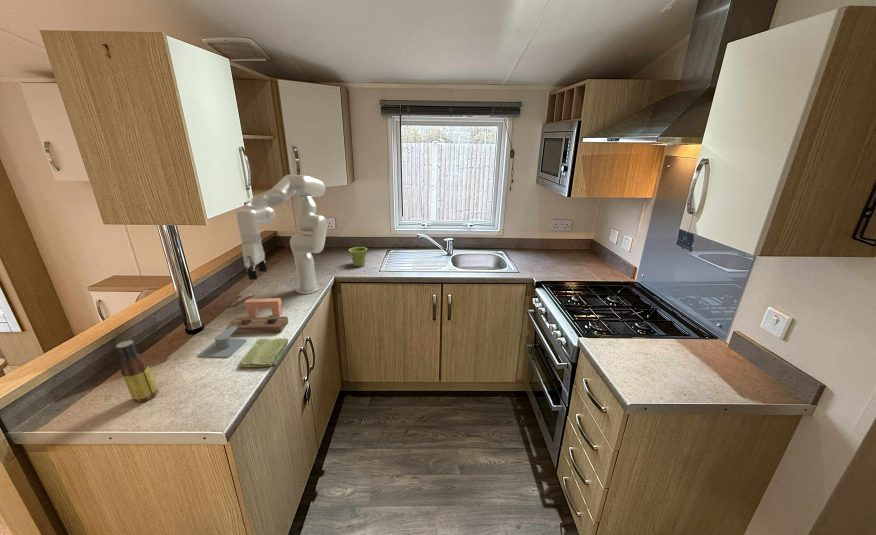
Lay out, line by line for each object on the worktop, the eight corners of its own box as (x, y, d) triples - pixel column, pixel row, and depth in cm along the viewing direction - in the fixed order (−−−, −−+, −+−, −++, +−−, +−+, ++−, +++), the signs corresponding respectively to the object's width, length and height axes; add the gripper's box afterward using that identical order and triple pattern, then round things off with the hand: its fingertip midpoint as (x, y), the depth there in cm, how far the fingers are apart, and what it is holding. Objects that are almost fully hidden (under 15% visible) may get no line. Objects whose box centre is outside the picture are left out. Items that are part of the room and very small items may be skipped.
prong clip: (250, 314, 159) (247, 299, 156) (283, 313, 160) (280, 298, 157) (247, 317, 156) (244, 302, 153) (280, 316, 157) (277, 301, 154)
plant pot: (371, 265, 226) (370, 249, 222) (357, 269, 218) (355, 253, 214) (361, 261, 234) (360, 245, 230) (346, 265, 225) (345, 249, 221)
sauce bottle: (149, 388, 110) (131, 335, 103) (163, 392, 108) (145, 338, 102) (127, 402, 104) (105, 346, 97) (141, 406, 102) (121, 350, 96)
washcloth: (236, 370, 119) (234, 363, 118) (258, 343, 136) (257, 336, 135) (274, 369, 120) (273, 361, 119) (291, 342, 137) (290, 335, 136)
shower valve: (249, 326, 138) (226, 346, 124) (251, 337, 140) (229, 358, 126) (220, 325, 139) (193, 345, 125) (222, 337, 141) (197, 358, 127)
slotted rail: (237, 324, 150) (236, 318, 149) (288, 322, 152) (287, 316, 151) (227, 334, 142) (225, 328, 141) (280, 332, 143) (279, 326, 142)
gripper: (251, 233, 152) (258, 268, 158) (231, 243, 136) (240, 282, 142) (268, 233, 152) (274, 268, 158) (250, 243, 136) (258, 282, 142)
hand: (258, 275), depth 150 cm, fingers open, 9 cm apart
